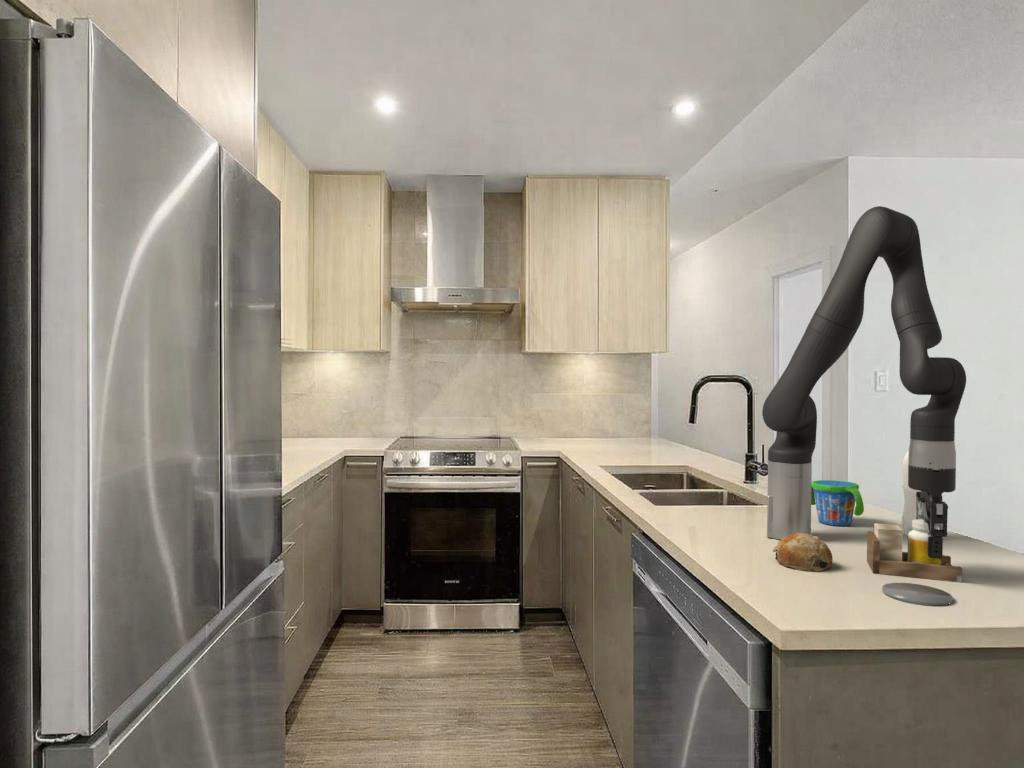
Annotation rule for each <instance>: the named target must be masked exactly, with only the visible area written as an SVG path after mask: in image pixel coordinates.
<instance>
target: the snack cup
mask: <svg viewBox="0 0 1024 768" xmlns="http://www.w3.org/2000/svg"><path fill="white" fill-rule="evenodd" d="M859 489H860V486H859V484H858V483H856V482H852V481H845V480H833V479H822V480H821V479H818V480H813V481H812V482H811V506H814V505H815V508H816V513H817V519H818V523H821V524H824V525H828V524H829V526H834V525H835V526H836V527H837V526H838V527H842V526H843V527H847V526H849V525H851V524H852V522H853V518H854V517H853V516H854V515H855V516H857V517H858V516H862V515H863V513H864V512H865V505H864V502H863V497H862V494H861V492H860V490H859Z"/></svg>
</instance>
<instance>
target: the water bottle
mask: <svg viewBox="0 0 1024 768" xmlns="http://www.w3.org/2000/svg"><path fill="white" fill-rule="evenodd" d="M908 453H909V449H908V450H907V452H906V453H905V455H904V457H903V460H902V468H903V469H902V489H903V497H904V498H903V500H904V501H903V502H904V503H903V512H902V515H901V527H902V528H901V529H902V531H903V533H904V535H905V536H906V537H908V533H909V532H910V531H912V530H914V528H913V527H912V521H913V520H915V519H916V493H917V492H921V491H919V490H914V489H911V488H910V487H909V486H908Z"/></svg>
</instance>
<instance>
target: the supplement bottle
mask: <svg viewBox="0 0 1024 768" xmlns="http://www.w3.org/2000/svg"><path fill="white" fill-rule="evenodd" d="M912 527H913V528H914V530H912V531H910V532H909V533H908V536H907V552H908V558H907V562H914V563H925V564H935V565H941V559H936V558H930V557H929V556H928V535H927V526H926V525H924V524H923V519H915V520H913V521H912ZM934 529H938V530H939V527H938V526H934Z"/></svg>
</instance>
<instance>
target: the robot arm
mask: <svg viewBox="0 0 1024 768" xmlns="http://www.w3.org/2000/svg"><path fill="white" fill-rule="evenodd" d="M849 235H850V236H849V237H848V240H847V243H846V244H845V248H844V251H843V252H842V255H841V258H840V261H839V263H838V265H837V268H836V270H835V271H834V274H833V276H832V278H831V280H830V282H829V284H828V286H827V289H826V291H824V292H825V293H824V294H823V296H822V298H821V300H820V301H819V304H818V306H817V307H816V309H815V311H814V313H813V315H812V317H811V319H810V321H809V323H808V324H807V326H806V329H805V330H804V333H803V335H802V337H801V339H800V341H799V343H798V344H797V347H796V348H795V350H794V352H793V355H792V356H791V359H790V361H789V362H788V364H787V366H786V368H785V370H784V371H783V372H782V374H781V376H780V377H779V379H778V381H776V383H775V385H774V386H773V388H772V390H771V391H770V392H769V394H768V395H767V397H766V399H765V401H764V403H763V406H762V410H761V411H762V419H763V422H764V424H765V425H766V427H767V428H768V429H770V430H772V431H774V432H776V437H775V440H774V442H773V443H772V445H771V446H770V447H769V448H768V451H767V498H766V499H767V503H766V504H767V505H766V507H767V509H766V510H767V511H766V512H767V513H766V514H767V515H766V517H767V518H766V519H767V520H766V537H767V538H772V539H775V540H779V541H781V540H782V539H783V538H785V537H786V536H789V535H791V534H794V533H807V534H810V535H812V505H811V484H812V482H813V481H812V475H813V474H812V473H813V472H812V470H813V469H812V468H813V465H812V462H813V459H812V458H813V454H814V451H815V450H816V449H815V448H816V444H817V443H816V442H817V429H818V428H817V426H818V413H817V405H816V402H815V401H814V399H813V398H812V396H811V393H812V391H813V389H814V388H815V386H816V385H817V382H819V380H820V379H821V377H823V375H824V374H825V373H827V371H828V370H829V369H831V367H832V366H834V364H835V363H836V362H837V361H838V360H839V359H840V358H841V357H842V355H844V353H845V352H846V350H847V349H848V347H849V346H850V344H851V343H852V341H853V339H854V338H855V336H856V333H857V332H858V329H859V328H860V327H861V323H862V322H863V321H862V320H863V319H864V310H865V292H866V291H865V290H866V284H867V281H868V278H869V275H870V273H871V271H872V269H873V267H874V265H876V261H877V260H878V258H881V259H882V258H883V260H884V262H885V264H886V265H887V267H888V269H889V272H890V275H891V279H892V284H893V285H892V287H893V288H892V293H891V294H892V295H891V301H890V313H891V318H892V321H893V324H894V328H895V331H896V335H897V338H898V341H899V370H898V371H899V378H900V382H901V384H902V385H903V387H904V389H905V390H907V391H908V392H909V393H910V394H913V395H917V396H930V397H929V400H928V403H927V405H925V406H922V407H918V408H916V409H914V410H913V411H912V412H911V414H910V423H909V424H910V425H909V426H910V428H909V429H910V430H909V432H910V433H909V434H910V435H909V436H910V437H909V438H910V440H909V446H908V450H909V453H908V486H909V487H910V488H911V489H914V490H919V491H921V492H917V493H916V519H923V524H924V525H926V526H927V535H928V556H929V557H930V558H936V559H941V558H942V557H943V555H944V554H943V553H944V552H943V551H944V550H943V549H944V547H943V543H944V539H945V538H947V536H948V510H949V506H948V505H949V504H948V503H946V501H943V500H944V499H943V494H944V493H953V492H955V490H956V485H957V483H956V482H957V481H956V480H957V475H956V474H957V451H956V450H957V449H956V445H955V444H956V442H955V439H956V438H955V434H956V432H955V430H956V427H955V426H956V422H955V421H956V416H957V414H958V411H959V409H960V405H961V401H962V399H963V395H964V392H965V389H966V384H967V375H966V374H967V372H966V371H965V367H964V366H963V365H962V363H961V362H960V361H959V360H958V359H955V358H954V357H947V356H946V357H944V356H942V357H937V356H935V357H932V356H931V357H930V355H929V352H928V350H929V349H932V348H935V347H936V346H937V345H939V344H940V343H941V342H942V339H943V334H942V330H941V327H940V323H939V321H938V317H937V314H936V312H935V308H934V306H933V303H932V300H931V296H930V294H929V290H928V284H927V280H926V275H925V274H926V273H925V268H924V267H925V266H924V262H923V255H922V246H921V238H920V233H919V229H918V224H917V223H916V221H915V220H914V219H913V218H912V217H911V216H909V215H907V214H904V213H902V212H901V211H900V212H899V211H896V210H894V209H892V208H889V207H886V206H881V205H880V206H874V207H871V208H869V209H867V210H866V211H865V212H864V213H863V214H861V216H860V217H859V218H858V220H857V221H856V222H855V225H854V226H853V229H852V231H851V233H850V234H849ZM934 526H938V529H934Z"/></svg>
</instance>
